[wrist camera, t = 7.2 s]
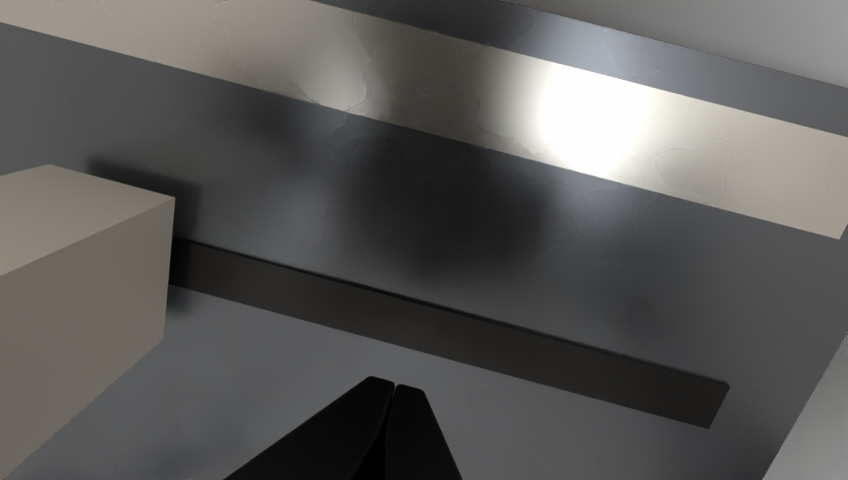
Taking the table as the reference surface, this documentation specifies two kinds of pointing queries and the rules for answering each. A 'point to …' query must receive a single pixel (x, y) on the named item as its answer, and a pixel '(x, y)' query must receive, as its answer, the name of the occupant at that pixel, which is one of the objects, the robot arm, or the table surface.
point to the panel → (446, 230)
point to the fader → (74, 295)
